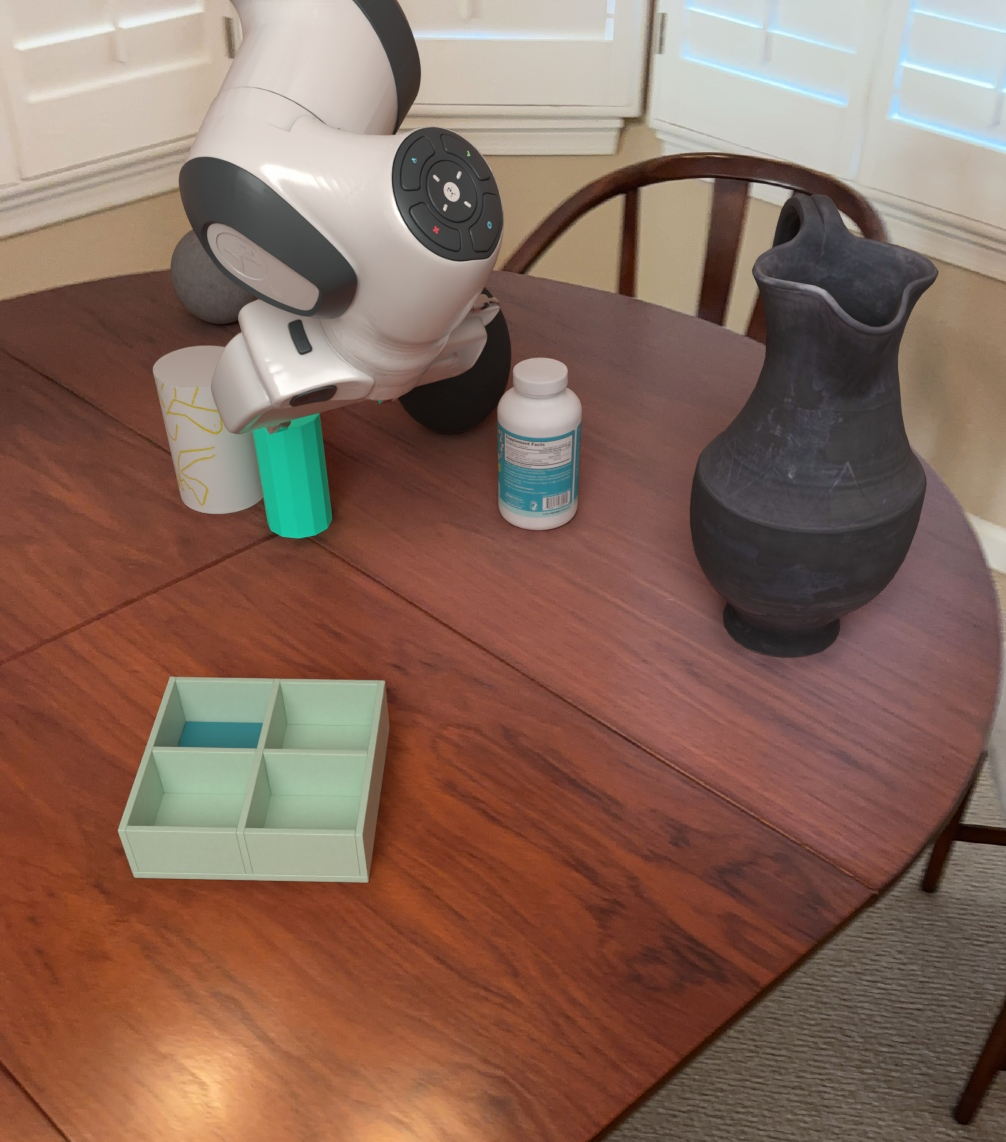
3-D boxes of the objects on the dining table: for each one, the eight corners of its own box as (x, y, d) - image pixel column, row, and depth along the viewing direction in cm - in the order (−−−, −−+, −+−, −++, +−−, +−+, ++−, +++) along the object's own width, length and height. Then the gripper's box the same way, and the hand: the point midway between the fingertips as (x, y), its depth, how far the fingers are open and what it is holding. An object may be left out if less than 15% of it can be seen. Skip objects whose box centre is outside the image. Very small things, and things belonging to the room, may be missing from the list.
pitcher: (705, 698, 92) (770, 299, 70) (643, 552, 106) (681, 179, 84) (916, 676, 94) (1045, 281, 72) (828, 535, 108) (914, 166, 85)
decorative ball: (284, 319, 138) (271, 227, 131) (215, 347, 133) (198, 252, 126) (231, 295, 143) (216, 204, 135) (163, 321, 138) (143, 228, 130)
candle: (290, 497, 112) (271, 372, 103) (344, 512, 110) (330, 386, 101) (254, 528, 108) (232, 401, 99) (310, 544, 107) (292, 416, 98)
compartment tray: (133, 878, 80) (117, 830, 76) (182, 724, 90) (169, 676, 87) (368, 883, 79) (362, 835, 76) (389, 728, 90) (385, 680, 86)
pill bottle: (522, 484, 114) (524, 342, 104) (590, 504, 111) (599, 361, 101) (482, 520, 109) (481, 376, 99) (553, 542, 107) (558, 397, 97)
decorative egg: (520, 404, 124) (522, 252, 113) (499, 463, 116) (499, 305, 105) (405, 394, 126) (396, 243, 115) (377, 452, 118) (364, 295, 106)
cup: (162, 496, 112) (133, 370, 103) (222, 460, 117) (199, 337, 108) (225, 523, 109) (200, 396, 100) (284, 485, 113) (265, 360, 104)
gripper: (491, 248, 83) (431, 338, 95) (216, 311, 76) (191, 399, 88) (524, 336, 83) (459, 414, 96) (255, 407, 76) (224, 480, 89)
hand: (329, 407), depth 92 cm, fingers open, 8 cm apart
